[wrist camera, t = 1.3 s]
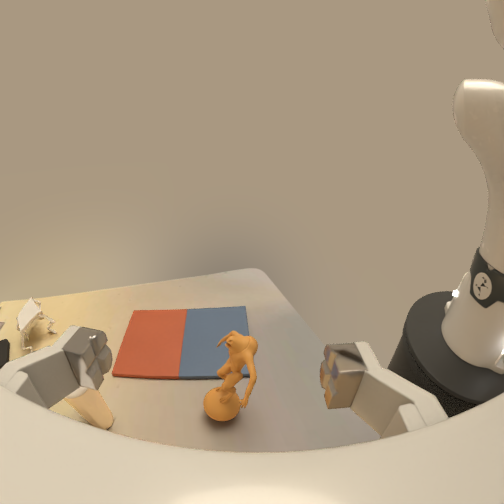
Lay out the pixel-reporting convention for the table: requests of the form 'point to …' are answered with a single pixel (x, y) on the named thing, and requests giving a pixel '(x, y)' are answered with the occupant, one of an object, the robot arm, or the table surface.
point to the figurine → (232, 378)
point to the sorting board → (179, 343)
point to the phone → (4, 352)
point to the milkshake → (91, 407)
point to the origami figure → (30, 318)
